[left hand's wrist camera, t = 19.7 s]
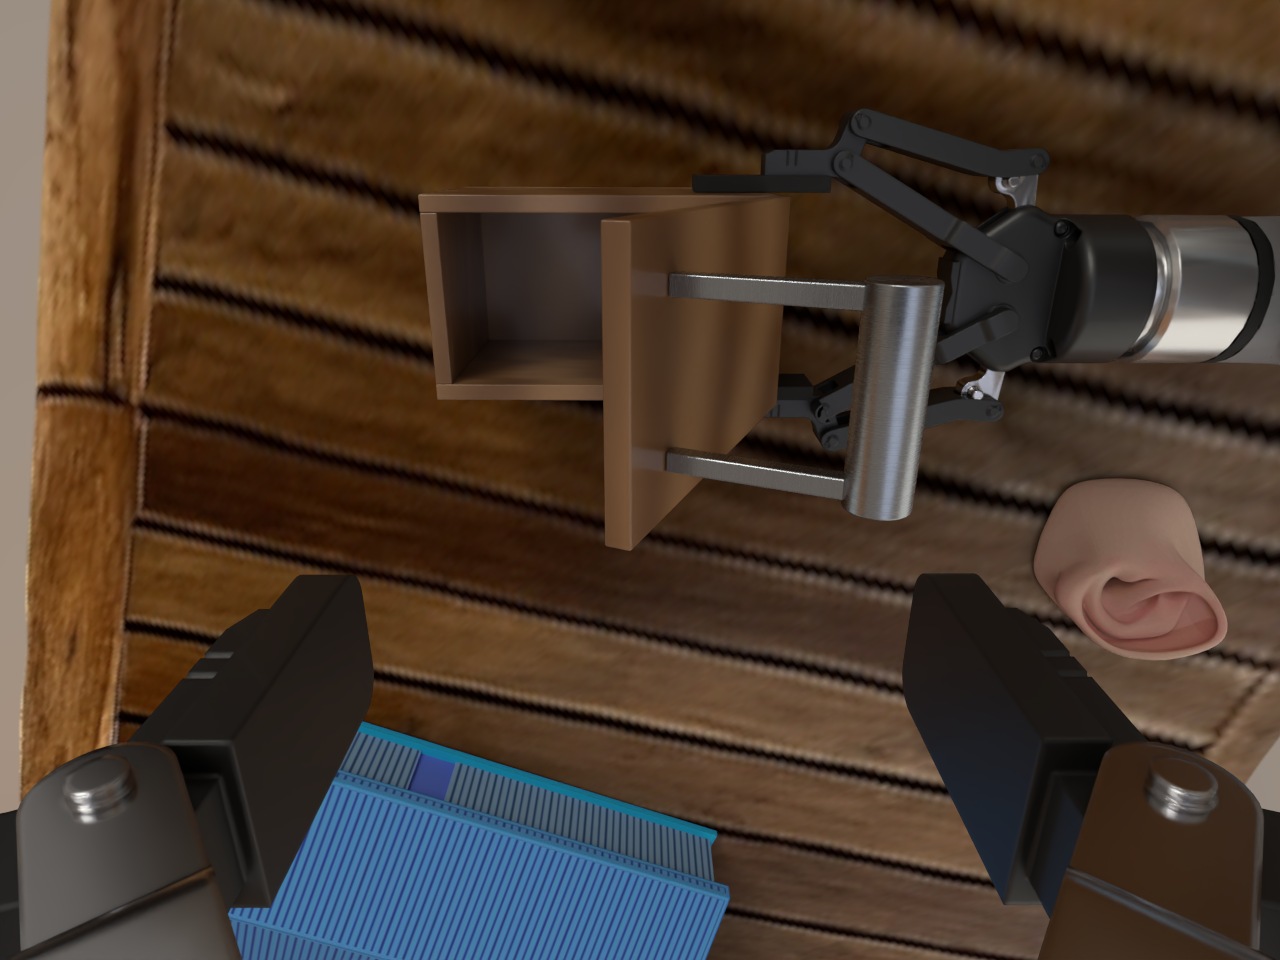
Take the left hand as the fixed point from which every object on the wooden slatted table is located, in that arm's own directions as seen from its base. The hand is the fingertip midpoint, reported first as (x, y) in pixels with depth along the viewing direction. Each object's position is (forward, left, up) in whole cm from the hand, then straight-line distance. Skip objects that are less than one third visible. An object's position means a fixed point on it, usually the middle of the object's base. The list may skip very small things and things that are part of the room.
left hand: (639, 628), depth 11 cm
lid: (-1, +2, -20) cm, 20 cm away
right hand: (-1, +2, -32) cm, 32 cm away
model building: (+50, +2, -39) cm, 64 cm away
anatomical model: (+6, +38, -39) cm, 55 cm away
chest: (+1, -2, -39) cm, 39 cm away
